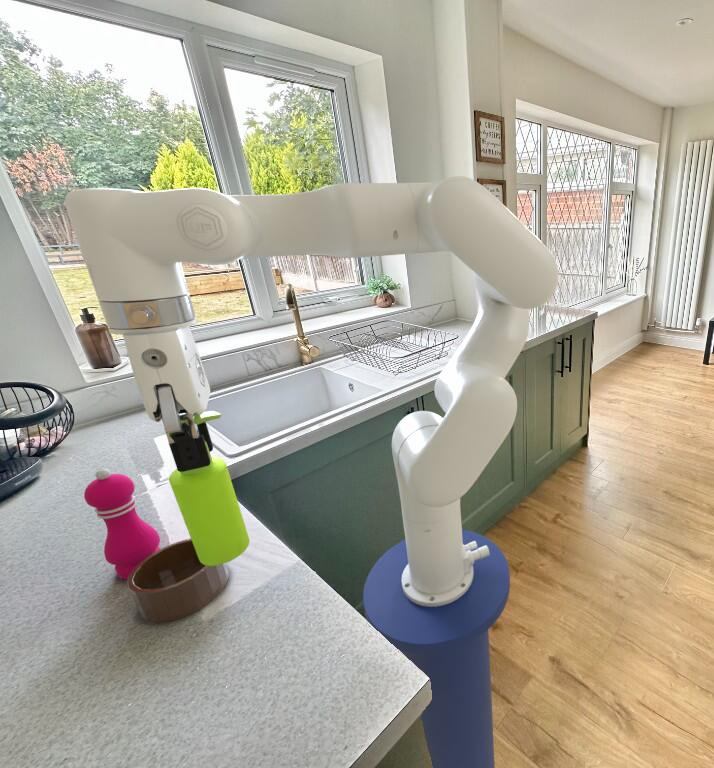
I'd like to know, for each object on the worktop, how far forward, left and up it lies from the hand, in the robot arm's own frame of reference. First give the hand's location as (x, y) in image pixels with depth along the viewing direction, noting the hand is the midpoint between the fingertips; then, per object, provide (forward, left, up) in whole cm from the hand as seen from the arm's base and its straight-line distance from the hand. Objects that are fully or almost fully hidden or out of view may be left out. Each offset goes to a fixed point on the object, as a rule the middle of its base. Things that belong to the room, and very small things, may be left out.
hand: (196, 459), depth 51 cm
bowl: (+10, -14, -29) cm, 34 cm away
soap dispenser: (0, -1, -15) cm, 15 cm away
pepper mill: (+18, -25, -30) cm, 42 cm away
